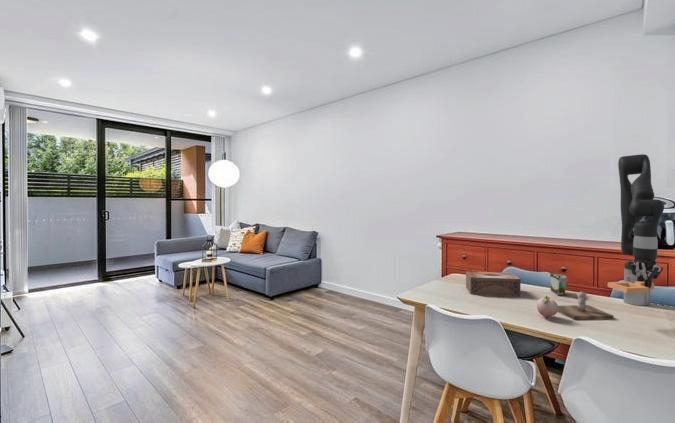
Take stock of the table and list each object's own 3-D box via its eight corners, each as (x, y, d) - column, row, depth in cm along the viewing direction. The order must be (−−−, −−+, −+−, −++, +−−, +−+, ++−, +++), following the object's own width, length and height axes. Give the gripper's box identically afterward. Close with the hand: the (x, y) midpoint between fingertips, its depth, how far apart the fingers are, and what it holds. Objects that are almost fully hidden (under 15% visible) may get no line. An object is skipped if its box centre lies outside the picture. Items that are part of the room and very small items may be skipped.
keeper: (588, 308, 160) (589, 287, 159) (613, 318, 146) (614, 296, 145) (552, 308, 159) (552, 288, 159) (573, 319, 145) (574, 296, 145)
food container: (572, 297, 177) (572, 278, 177) (559, 296, 178) (559, 278, 178) (561, 290, 189) (561, 273, 189) (549, 290, 190) (549, 273, 190)
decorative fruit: (558, 322, 142) (558, 300, 142) (536, 319, 146) (536, 297, 146) (557, 316, 150) (558, 294, 150) (536, 312, 154) (537, 292, 154)
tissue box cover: (470, 294, 185) (470, 277, 184) (465, 287, 199) (465, 271, 198) (520, 297, 179) (520, 279, 179) (511, 289, 193) (512, 272, 193)
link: (641, 285, 144) (641, 279, 144) (662, 291, 135) (662, 284, 135) (607, 286, 144) (607, 280, 143) (626, 293, 134) (626, 285, 134)
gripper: (670, 249, 131) (669, 291, 132) (638, 244, 145) (637, 282, 146) (652, 249, 131) (651, 292, 132) (621, 244, 145) (620, 282, 146)
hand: (644, 286), depth 139 cm, fingers closed on link, 2 cm apart
